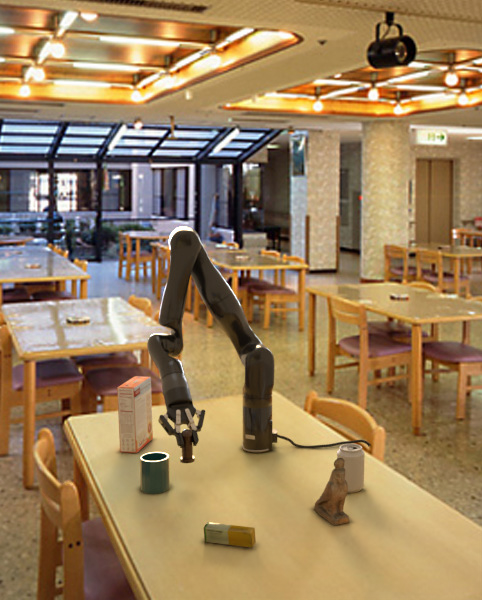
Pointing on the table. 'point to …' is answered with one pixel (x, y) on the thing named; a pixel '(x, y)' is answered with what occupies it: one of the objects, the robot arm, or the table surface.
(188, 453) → the game pawn
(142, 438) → the cracker box
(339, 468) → the worn brown figurine
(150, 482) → the cup
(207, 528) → the medication box
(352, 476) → the can
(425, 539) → the table surface
